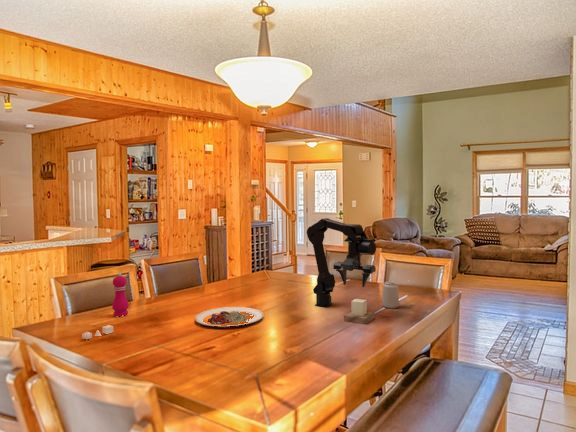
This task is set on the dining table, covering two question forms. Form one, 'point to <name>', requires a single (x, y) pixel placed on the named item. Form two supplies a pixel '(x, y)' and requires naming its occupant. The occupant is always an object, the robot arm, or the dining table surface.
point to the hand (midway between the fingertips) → (353, 285)
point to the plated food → (229, 316)
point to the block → (359, 307)
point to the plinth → (359, 318)
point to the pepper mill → (120, 296)
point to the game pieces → (106, 330)
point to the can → (390, 295)
